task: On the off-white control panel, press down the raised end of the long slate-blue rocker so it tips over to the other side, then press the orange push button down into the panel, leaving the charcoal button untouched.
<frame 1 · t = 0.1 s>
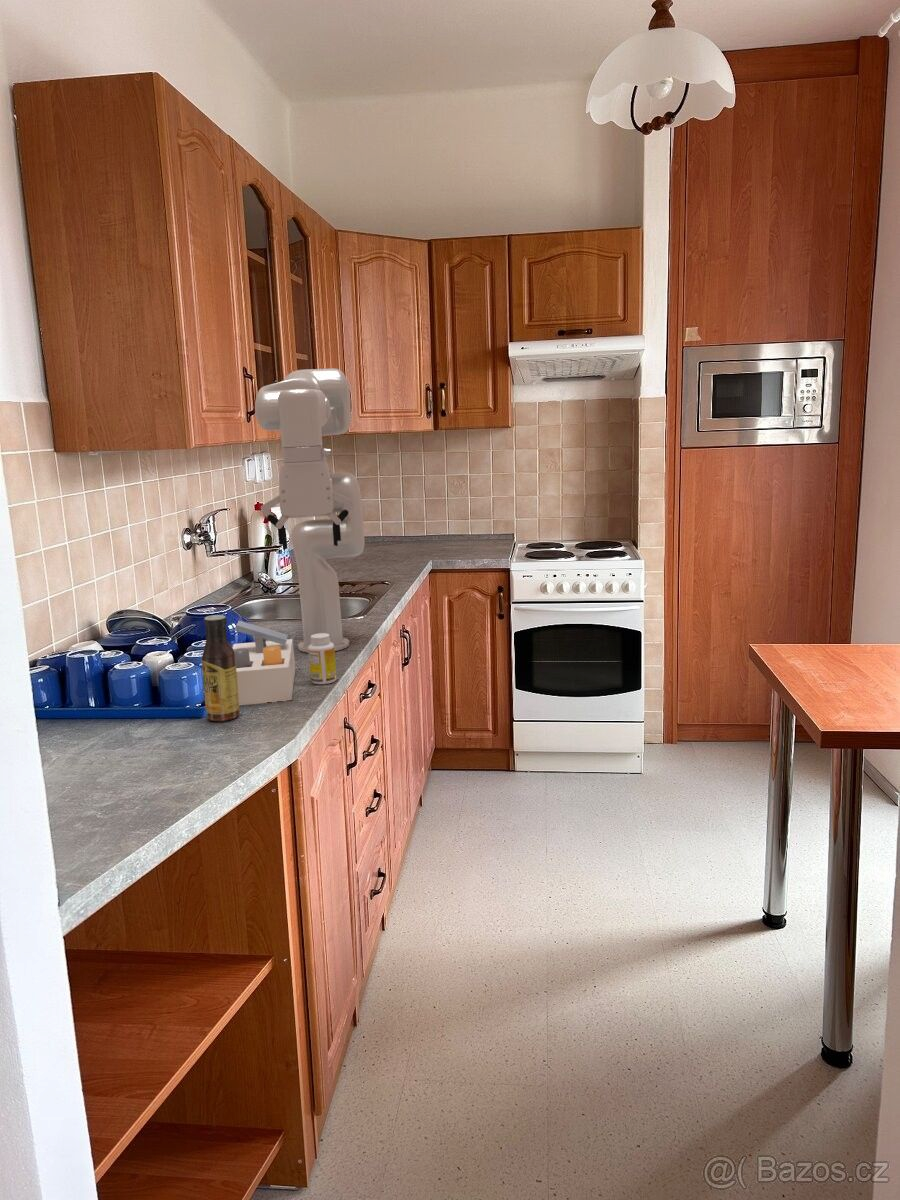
hand: (310, 546, 170), 31 cm above the countertop, tool pointing down, fingers open, 9 cm apart
supplement bottle: (324, 682, 190), on the countertop
sauce bottle: (224, 718, 170), on the countertop
button charcoal: (241, 668, 180), point 6 cm above the countertop, slide at 0.0 cm
rocker: (260, 635, 192), point 10 cm above the countertop, hinge at -22.0°
button orange: (273, 665, 181), point 6 cm above the countertop, slide at 0.0 cm
panel: (262, 686, 189), on the countertop
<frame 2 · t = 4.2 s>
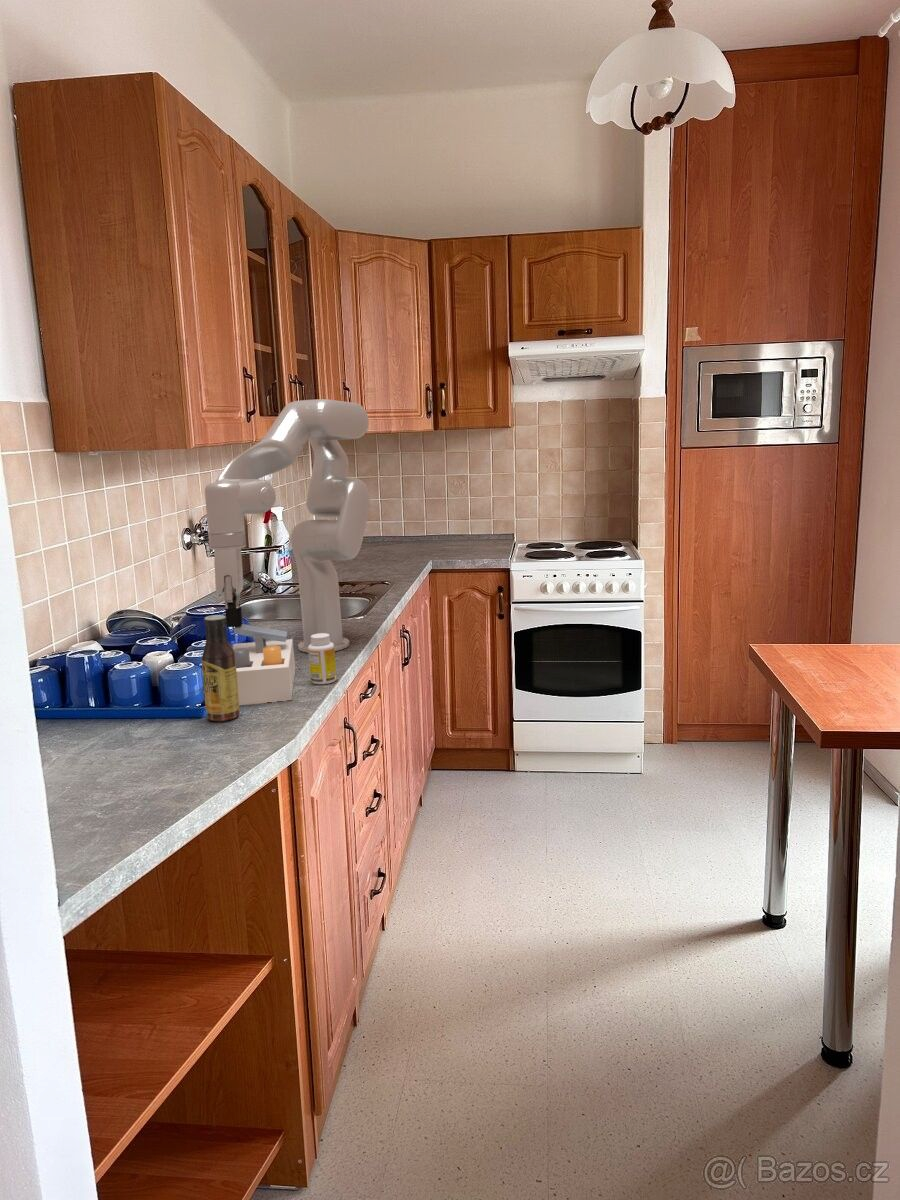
hand: (234, 626, 190), 13 cm above the countertop, tool pointing down, fingers closed
rocker: (260, 635, 192), point 10 cm above the countertop, hinge at -14.6°, touching gripper
everything else where it was.
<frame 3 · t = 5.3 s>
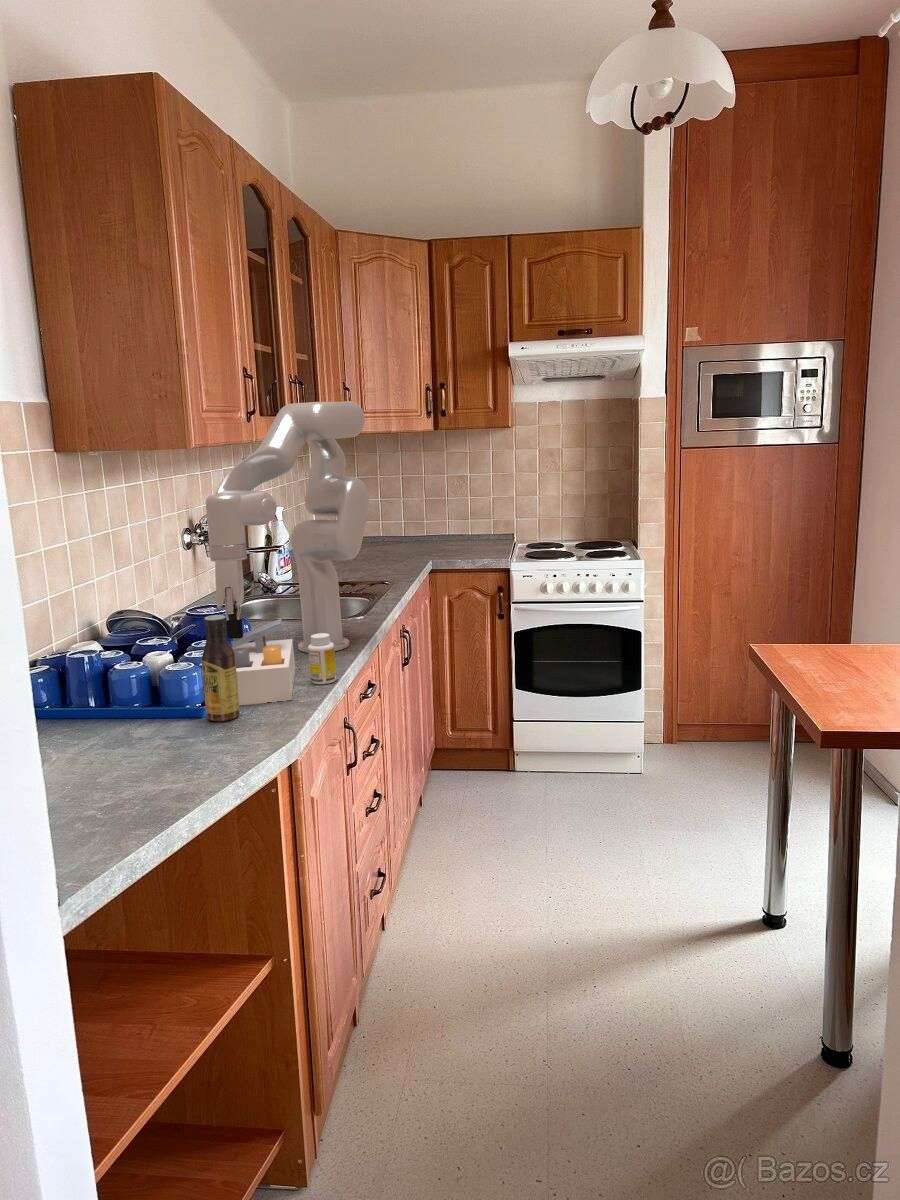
hand: (235, 637, 190), 10 cm above the countertop, tool pointing down, fingers closed
rocker: (258, 635, 192), point 10 cm above the countertop, hinge at 17.9°, touching gripper
everything else where it was.
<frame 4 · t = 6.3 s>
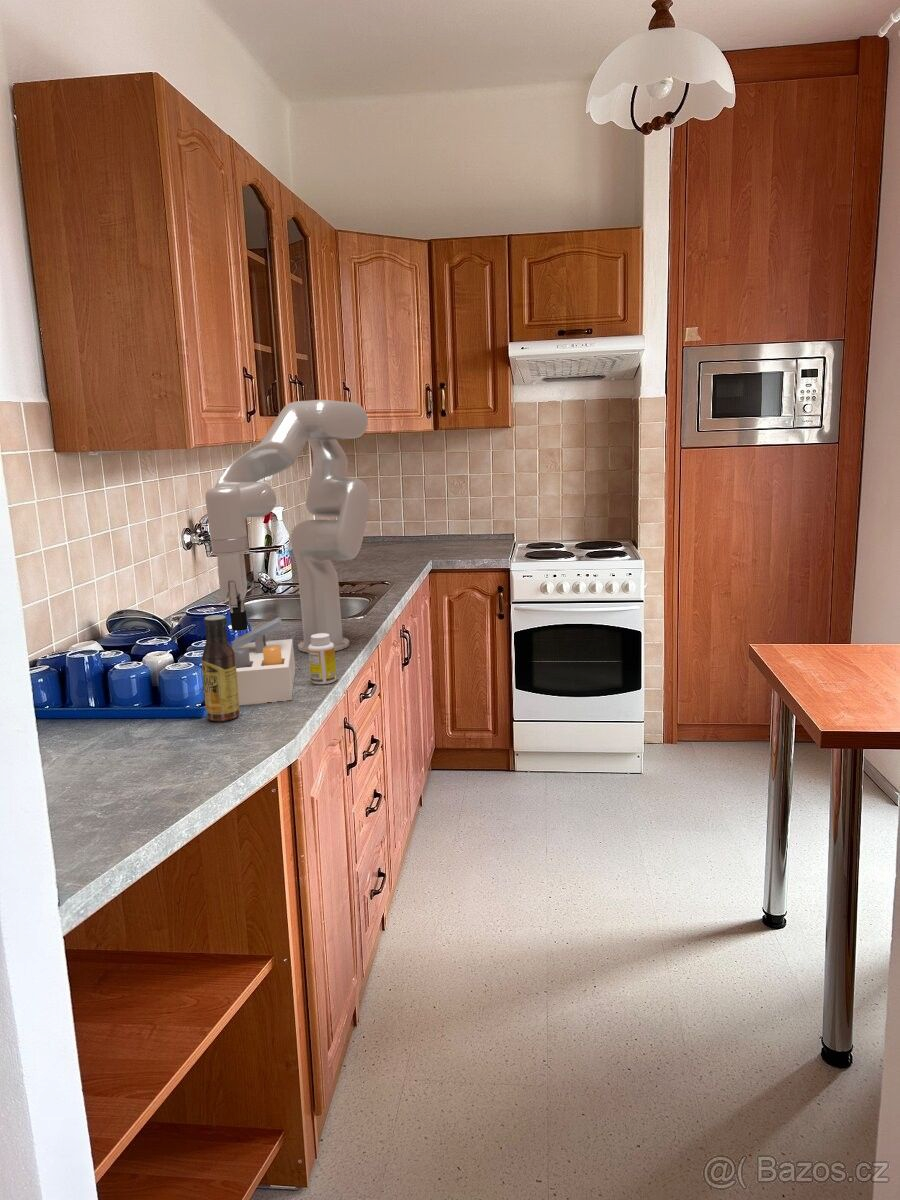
hand: (240, 629, 191), 12 cm above the countertop, tool pointing down, fingers closed
rocker: (258, 635, 192), point 10 cm above the countertop, hinge at 22.7°
everything else where it was.
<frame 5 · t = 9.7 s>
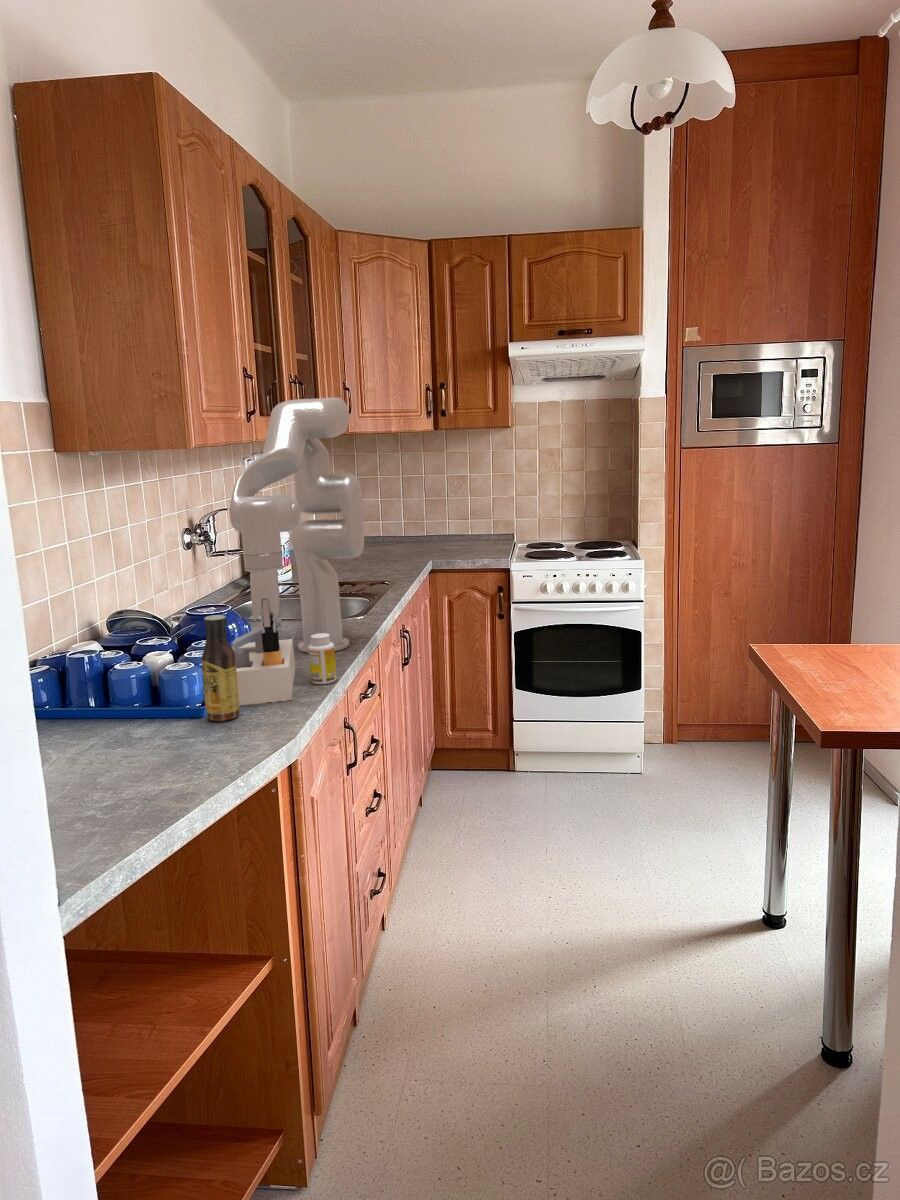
hand: (271, 650, 180), 9 cm above the countertop, tool pointing down, fingers closed
button orange: (273, 668, 181), point 6 cm above the countertop, slide at 0.6 cm, touching gripper
everything else where it was.
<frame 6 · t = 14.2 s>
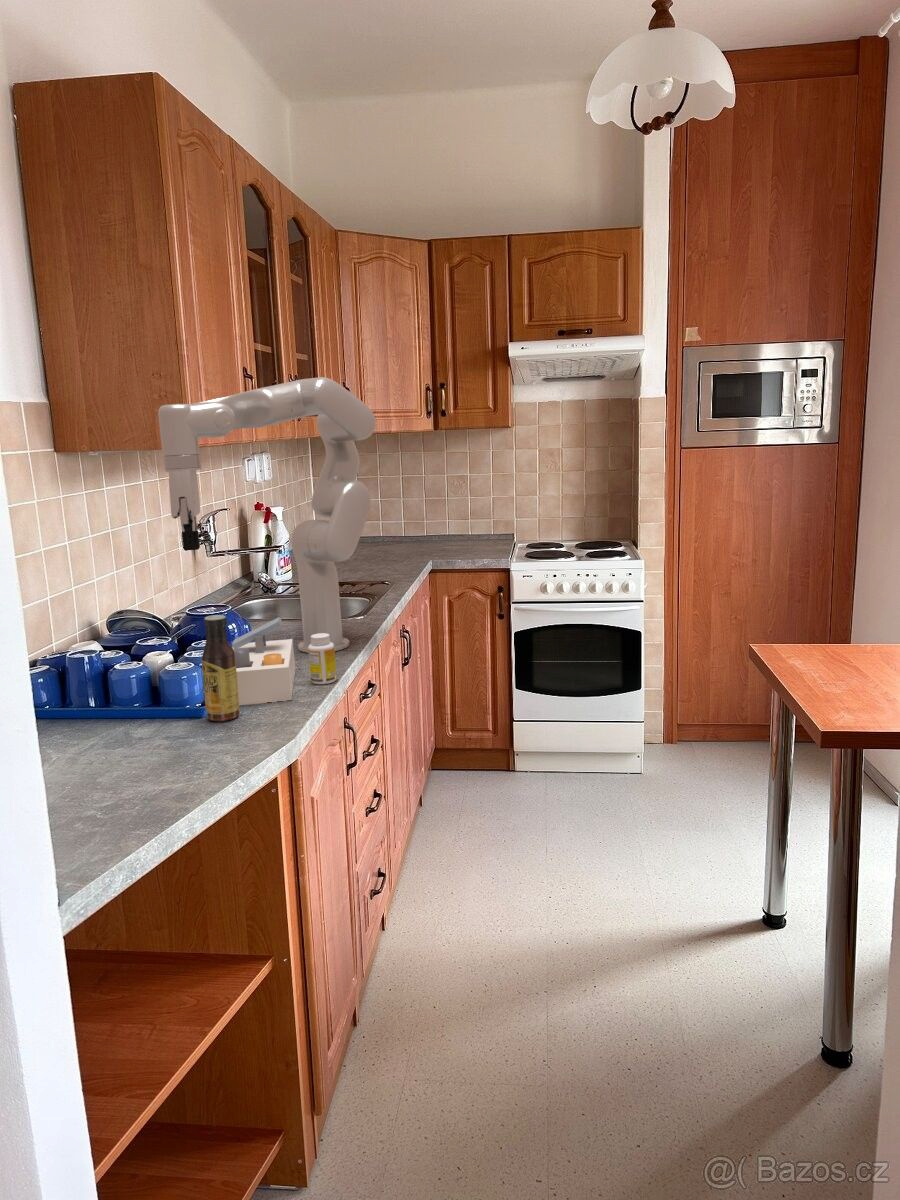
hand: (191, 549, 191), 29 cm above the countertop, tool pointing down, fingers closed
button orange: (274, 673, 181), point 5 cm above the countertop, slide at 1.6 cm
everything else where it was.
at the end: rocker at +23° (first picture: -22°); button orange slide at 1.6 cm; button charcoal slide at 0.0 cm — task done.
